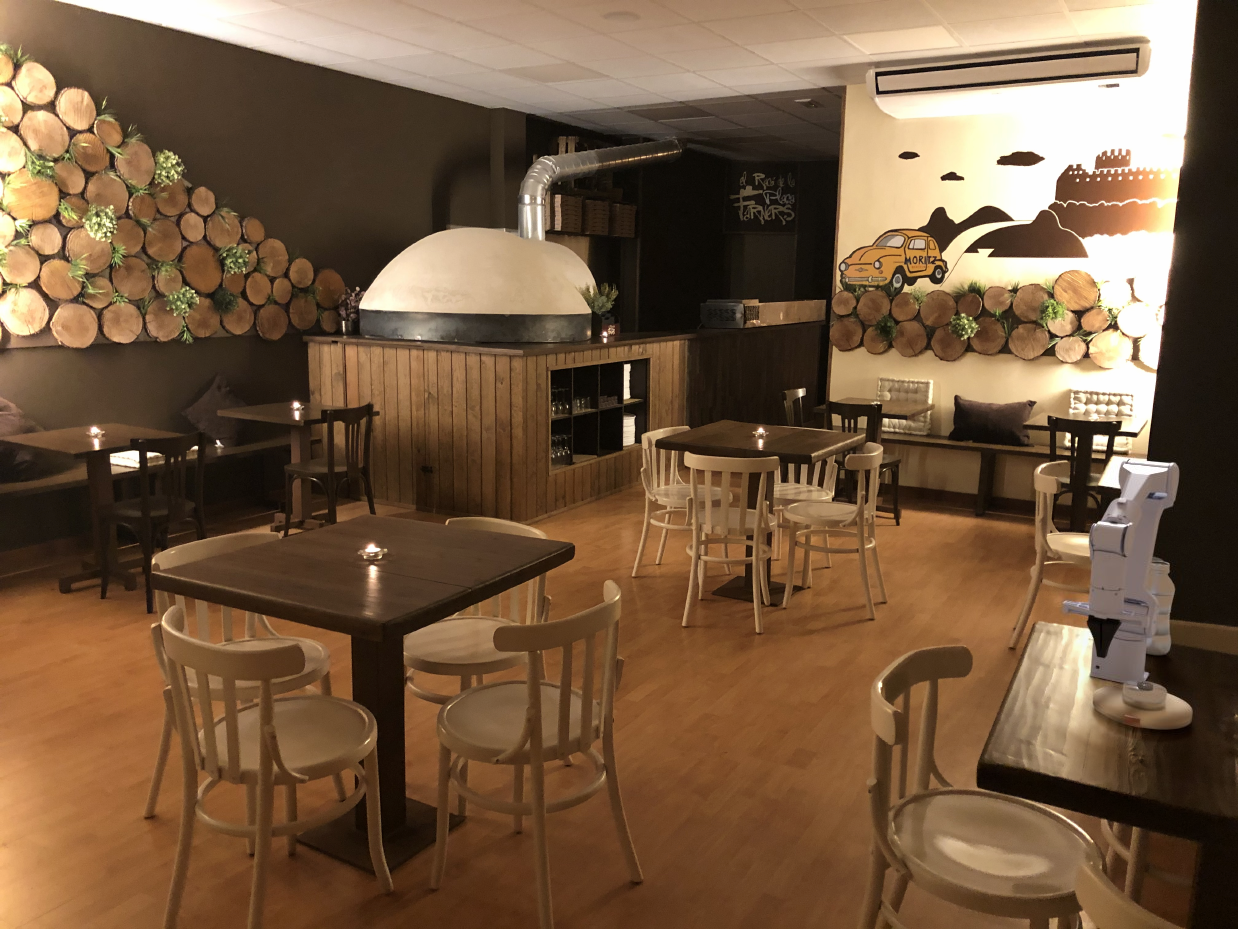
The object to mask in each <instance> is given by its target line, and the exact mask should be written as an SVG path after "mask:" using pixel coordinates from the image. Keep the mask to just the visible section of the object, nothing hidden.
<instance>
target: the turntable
mask: <svg viewBox="0 0 1238 929" xmlns="http://www.w3.org/2000/svg"><path fill="white" fill-rule="evenodd" d="M1122 695H1123V684H1121V685H1120V684H1119V685H1117V684H1116V685H1106V686H1102V687H1100V688H1097V689H1096V690H1095V691H1093V695H1092V706H1093V707H1094V709H1095V710H1096V711H1097V712H1098V713H1100V714H1102V715H1103V716H1105V717H1107V718H1109V719H1112V720H1114V721H1116V722H1119V723H1122V724H1124V725H1128V726H1131V727H1135V728H1144V729H1150V730H1151V729H1152V730H1176V729H1182V728H1185V727H1187V726H1189V725H1190V724H1191V723H1192V720H1193V713H1194V712H1193V708H1192V707H1191V705H1190V704H1189V703H1188V702H1186V701H1185V700H1183V699H1182V698H1179V697H1177V696H1175V695H1173V694H1170V693H1168V692H1167V697H1166V708H1165V709H1164V710H1161V711H1144V710H1139V709H1135V708H1132V707H1130V706H1128V705H1126V704H1125V703H1123V701H1122Z"/></svg>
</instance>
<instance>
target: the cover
mask: <svg viewBox="0 0 1238 929" xmlns="http://www.w3.org/2000/svg"><path fill="white" fill-rule="evenodd" d="M1122 685H1123V695H1122V701H1123V703H1125V704H1126V705H1128V706H1130V707H1132V708H1135V709H1139V710H1144V711H1161V710H1164V709H1165V708H1166V697H1167V693H1168V691H1167V689H1166V688H1165V687H1164V686H1162V685H1161V684H1158V683H1156V682H1155V683H1154V682H1151V681H1148V680H1147V681H1146V680H1145V681H1140V680H1131V681H1126V682H1125V683H1122Z"/></svg>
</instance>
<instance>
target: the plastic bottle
mask: <svg viewBox="0 0 1238 929" xmlns="http://www.w3.org/2000/svg"><path fill="white" fill-rule="evenodd" d="M1170 571H1171V570H1170V563H1169V562H1166V561H1163V562H1162V561H1151V567H1150V573H1149V577H1148V582H1147V588H1146V589H1147V590H1148V591H1149V592H1150V593H1151V594H1152V595H1153V596H1155V597H1156V599H1157V600H1158V603H1159V612H1158V614H1159V618H1158V626H1157V630H1156V633H1155V634H1154V636H1152V637H1151V638H1147V645H1146V654H1148V655H1153V656H1164V655H1167V653H1168V652H1170V650H1171V645H1172V639H1171V634H1170V618H1171V615H1170V613H1171V612H1172V611H1171V610H1172V604H1173V599H1174V596H1175V591H1176V587H1175V584H1174V583H1173V581H1172V579H1171V578H1170V577H1169V575H1168V574H1169V573H1170ZM1141 605H1146V604H1141ZM1146 606H1148V605H1146Z"/></svg>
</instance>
